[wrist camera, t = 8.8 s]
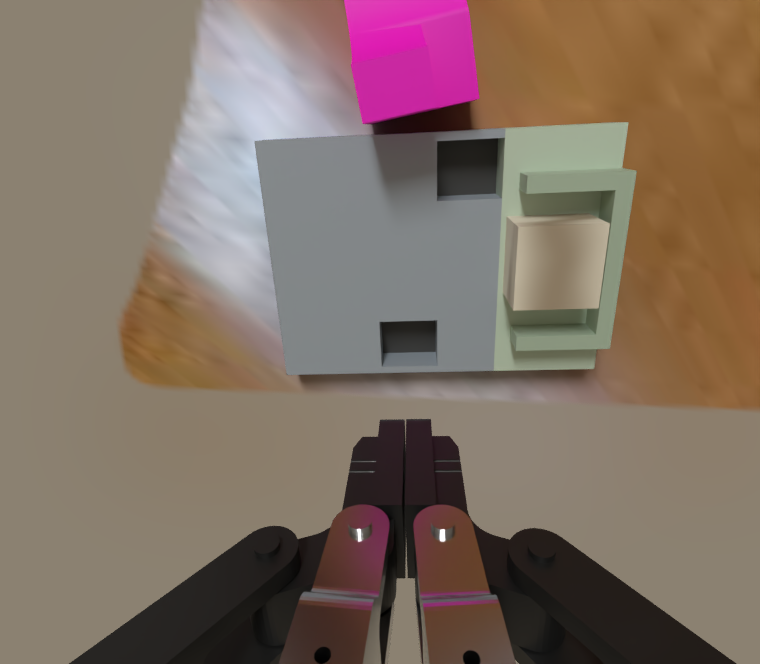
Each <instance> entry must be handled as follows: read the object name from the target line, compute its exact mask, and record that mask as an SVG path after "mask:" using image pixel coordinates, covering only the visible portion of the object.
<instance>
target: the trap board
mask: <svg viewBox="0 0 760 664" xmlns="http://www.w3.org/2000/svg"><path fill="white" fill-rule="evenodd" d="M627 129H628V122H611V123H592V124H572V125H552V126H533V127H513V128H493V129H473V130H454V131H434V132H414V133H395V134H375V135H355V136H335V137H316V138H296V139H276V140H262V141H255V148H256V156H257V163H258V170H259V177H260V184H261V192H262V199H263V206H264V213H265V221H266V228H267V235H268V242H269V249H270V257H271V264H272V271H273V278H274V285H275V293H276V300H277V307H278V314H279V322H280V329H281V336H282V343H283V350H284V358H285V365H286V372H287V375H307V374H358V373H409V372H460V371H510V370H561V369H594V365H595V358H596V351H597V349H610V344H611V337H612V331H613V324H614V317H615V311H616V304H617V298H618V291H619V284H620V278H621V271H622V265H623V258H624V251H625V245H626V238H627V231H628V225H629V218H630V212H631V205H632V198H633V192H634V185H635V179H636V172H637V171H635V170H630V169H625V168H622V165H623V158H624V150H625V143H626V136H627ZM578 213H589V214H591V215H593V216H595V217H597V218H599V219H601V220H603V221H606V222H608V223H610V228H609V235H608V243H607V250H606V257H605V265H604V272H603V279H602V287H601V294H600V301H599V308H592V309H555V310H519V311H513V309H512V308H511V306H510V304H509V302H508V301H507V299H506V297H505V296H504V294H503V275H504V256H505V237H506V218H507V216H527V215H552V214H578Z"/></svg>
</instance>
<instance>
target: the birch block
mask: <svg viewBox="0 0 760 664" xmlns="http://www.w3.org/2000/svg"><path fill="white" fill-rule="evenodd" d="M609 228H610V223H608V222H606V221H603V220H601V219H599V218H597V217H595V216H593V215H591V214H589V213H578V214H552V215H527V216H507V218H506V237H505V256H504V275H503V294H504V296H505V297H506V299H507V301H508V302H509V304H510V306H511V308H512V309H513V311H519V310H555V309H592V308H599V301H600V294H601V287H602V279H603V272H604V265H605V257H606V250H607V243H608V235H609Z"/></svg>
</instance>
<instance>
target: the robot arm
mask: <svg viewBox="0 0 760 664" xmlns="http://www.w3.org/2000/svg"><path fill="white" fill-rule="evenodd" d="M406 421H407V422H406V444H405V421H404V420H380V426H379V434H378V437H362V438H361V439H360V441H359V442H358V443H357V444H356V446H355V447H354V448H353V453H352V459H351V464H350V470H349V475H348V481H347V487H346V492H345V498H344V504H343V509H342V511H341V512H340V513H338V514H337V516H336V517H335V518H334V520H333V522H332V524H331V527H330V528H329V529H327V530H325V531H323V532H321V533H319V534H316V535H312V536H308V537H305V538H301V539H297V537H296V535H295V534H294V533H293V532H292V531H291V530H289V529H287V528H285V527H281V526H269V527H264V528H261V529H258V530H256V531H254V532H252V533H251V534H249V535H248V536H247V537H246V538H244V539H242V540H241V541H240V542H238V543H237V544H235V545H234V546H233V547H232V548H230V549H228V550H227V551H226V552H224V553H223V554H221V555H220V556H219V557H217V558H216V559H214V560H213V561H212V562H210V563H209V564H208V565H206V566H205V567H203V568H202V569H201V570H199V571H198V572H196V573H195V574H194V575H192V576H191V577H189V578H188V579H187V580H185V581H184V582H182V583H181V584H180V585H178V586H177V587H175V588H174V589H173V590H171V591H170V592H169V593H167V594H166V595H164V596H163V597H162V598H160V599H159V600H157V601H156V602H154V603H153V604H152V605H150V606H149V607H148V608H146V609H145V610H143V611H142V612H141V613H139V614H138V615H136V616H135V617H134V618H132V619H131V620H129V621H128V622H127V623H125V624H124V625H122V626H121V627H120V628H118V629H117V630H115V631H114V632H113V633H111V634H110V635H109V636H107V637H106V638H104V639H103V640H102V641H100V642H99V643H97V644H96V645H95V646H93V647H92V648H90V649H89V650H88V651H86V652H85V653H83V654H82V655H81V656H79V657H78V658H76V659H75V660H74V661H72V662H71V663H69V664H388V657H389V648H390V640H391V631H392V624H393V614H394V600H395V596H396V579H397V578H405V557H406V553H405V552H406V542H407V567H408V578H415V593H416V615H417V625H418V636H419V648H420V658H421V664H516V662H515V660H516V661H517V662H518V663H519V664H736V663H735V662H733V661H732V660H730V659H729V658H728V657H726V656H725V655H724V654H722V653H721V652H719V651H718V650H717V649H715V648H714V647H712V646H711V645H710V644H708V643H707V642H706V641H704V640H703V639H701V638H700V637H699V636H697V635H696V634H694V633H693V632H692V631H690V630H689V629H688V628H686V627H685V626H683V625H682V624H681V623H679V622H678V621H677V620H675V619H674V618H672V617H671V616H670V615H668V614H667V613H665V612H664V611H663V610H661V609H660V608H658V607H657V606H656V605H654V604H653V603H652V602H650V601H649V600H647V599H646V598H645V597H643V596H642V595H640V594H639V593H638V592H636V591H635V590H634V589H632V588H631V587H629V586H628V585H627V584H625V583H624V582H622V581H621V580H620V579H618V578H617V577H616V576H614V575H613V574H611V573H610V572H609V571H607V570H606V569H604V568H603V567H602V566H600V565H599V564H598V563H596V562H595V561H593V560H592V559H590V558H589V557H588V556H586V555H585V554H584V553H582V552H581V551H579V550H578V549H577V548H575V547H574V546H573V545H571V544H570V543H569V542H567V541H566V540H564V539H563V538H562V537H560V536H558V535H557V534H555V533H553V532H550V531H547V530H543V529H536V528H532V529H531V528H530V529H524V530H522V531H519V532H517V533H516V534H515V535H514V536H513V537H512V538H511V539H510V540H509V539H505V538H501V537H498V536H494V535H491V534H489V533H487V532H485V531H483V530H482V529H480V528H479V527H478V526H476V525H475V524H474V522H473V521H472V520H471V518H470V516H469V514H468V511H467V504H466V497H465V490H464V483H463V476H462V470H461V464H460V456H459V449H458V446H457V445H456V444H455V443H454V441H453V440H452V439H451V438H450V437H449V436H432V431H431V419H407V420H406ZM406 540H407V541H406Z"/></svg>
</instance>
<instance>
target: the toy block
mask: <svg viewBox="0 0 760 664" xmlns="http://www.w3.org/2000/svg"><path fill="white" fill-rule="evenodd" d="M344 3H345V8H346V14H347V20H348V27H349V33H350V41H351V50H352V64H351V68H352V73H353V78H354V83H355V88H356V93H357V98H358V103H359V107H360V112H361V117H362V122H363V124H374V123H379V122H383V121H388V120H392V119H397V118H401V117H405V116H410V115H414V114H419V113H423V112H427V111H432V110H436V109H441V108H445V107H450V106H454V105H458V104H463V103H467V102H471V101H474V100H477V99H479V92H478V83H477V74H476V66H475V57H474V49H473V40H472V31H471V23H470V14H469V9H468V6H467V1H466V0H344Z"/></svg>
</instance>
